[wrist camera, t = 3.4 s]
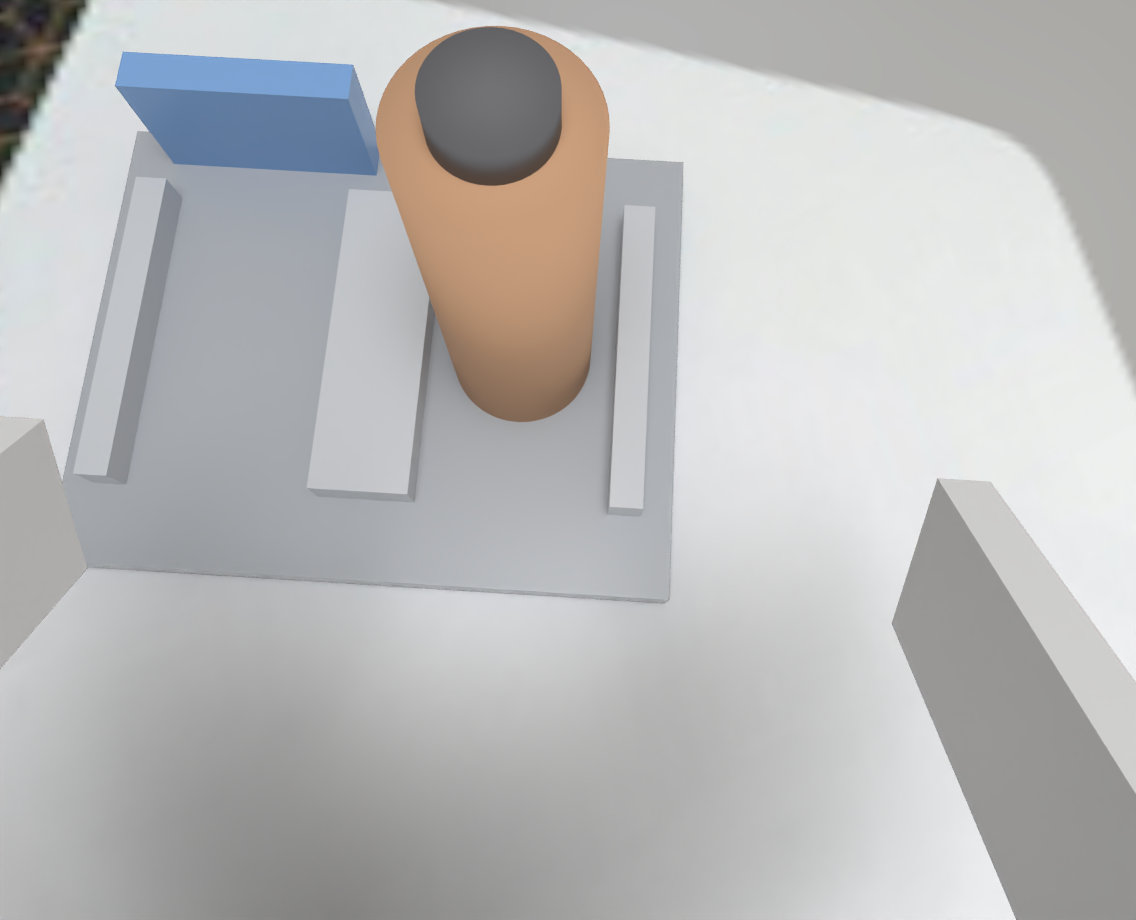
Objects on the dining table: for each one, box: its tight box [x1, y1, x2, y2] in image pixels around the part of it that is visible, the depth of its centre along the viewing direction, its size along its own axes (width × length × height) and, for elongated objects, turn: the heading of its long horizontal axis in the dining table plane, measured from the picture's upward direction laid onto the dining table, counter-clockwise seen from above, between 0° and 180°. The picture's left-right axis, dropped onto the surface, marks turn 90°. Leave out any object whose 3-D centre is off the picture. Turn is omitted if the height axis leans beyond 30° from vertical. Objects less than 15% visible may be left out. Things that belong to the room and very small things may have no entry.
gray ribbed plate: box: [62, 52, 683, 603], centre depth 26 cm, size 15×19×5 cm
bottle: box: [376, 26, 609, 422], centre depth 21 cm, size 4×4×13 cm
